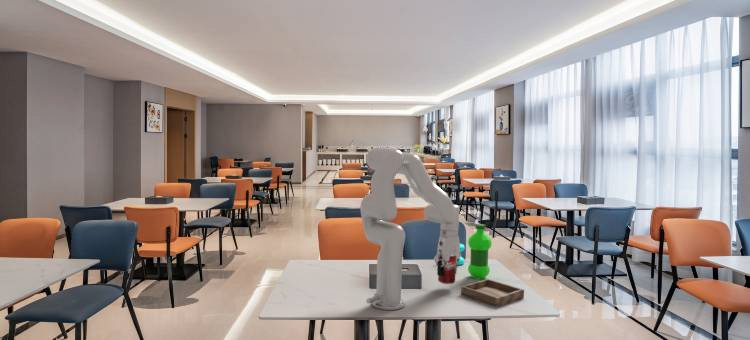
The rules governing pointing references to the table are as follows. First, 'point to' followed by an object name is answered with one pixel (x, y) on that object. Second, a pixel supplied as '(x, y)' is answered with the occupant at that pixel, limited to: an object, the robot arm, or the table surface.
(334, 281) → the table surface
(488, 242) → the plastic bottle
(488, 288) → the walnut tray
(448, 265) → the soda can
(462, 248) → the donuts
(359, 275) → the table surface
